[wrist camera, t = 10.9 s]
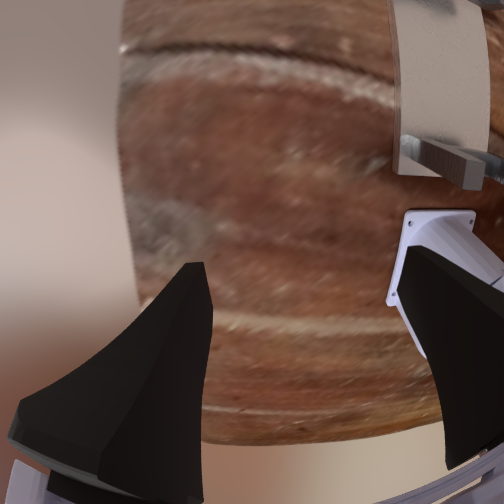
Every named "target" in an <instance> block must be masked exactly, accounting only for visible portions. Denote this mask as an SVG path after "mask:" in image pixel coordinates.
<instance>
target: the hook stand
mask: <svg viewBox="0 0 504 504" xmlns="http://www.w3.org/2000/svg"><path fill="white" fill-rule="evenodd" d="M386 4H387V10H388V17H389V25H390V33H391V43H392V54H393V70H394V145H393V161H392V171H393V172H395V173H396V174H398V175H418V176H435V177H443V178H445V179H447V180H448V181H450V182H452V183H453V184H455V185H456V186H458V187H460V188H461V189H465V190H479V191H481V190H482V184H483V178H484V177H491V178H493V179H494V180H496V181H498V182H499V183H501V184H503V185H504V158H502V157H500V156H498V155H496V154H493V153H490V152H487V148H488V138H489V123H490V74H489V60H488V50H487V42H486V35H485V28H484V22H483V17H482V12H481V8H483V9H484V10H486V11H491V10H501V9H504V0H386ZM480 7H481V8H480Z"/></svg>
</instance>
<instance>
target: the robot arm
mask: <svg viewBox="0 0 504 504" xmlns="http://www.w3.org/2000/svg"><path fill="white" fill-rule="evenodd" d="M475 217H476V213H475V212H474V211H473V210H409V211H407V212H406V214H405V217H404V223H403V229H402V234H401V239H400V244H399V249H398V254H397V258H396V263H395V267H394V271H393V276H392V280H391V284H390V287H389V291H388V295H387V299H386V304H387V305H388V306H395V305H396V306H397V308H398V310H399V312H400V314H401V316H402V318H403V320H404V322H405V324H406V326H407V328H408V330H409V332H410V334H411V336H412V338H413V340H414V342H415V344H416V346H417V348H418V350H419V351H420V353H421V354H422V355H423V356H424V357H425V358H426V359H427V360H428V362H429V365H430V367H431V370H432V374H433V377H434V380H435V384H436V387H437V391H438V396H439V400H440V405H441V410H442V416H443V423H444V431H445V447H446V448H445V450H446V452H445V453H446V454H445V458H446V459H445V462H446V466H447V469H448V470H451V469H453V468H455V467H457V466H459V465H461V464H463V463H464V462H466V461H468V460H470V459H472V458H473V457H475V456H477V455H479V454H480V453H482V452H483V451H485V450H486V451H487V452H488V453H486V454H485V455H483V456H481V457H480V458H478V459H477V460H475V461H473V462H471V463H469V464H468V465H466V466H464V467H462V468H460V469H458V470H456V471H455V472H453V473H451V474H449V475H447V476H445V477H442V478H440V479H438V480H436V481H434V482H432V483H429V484H427V485H425V486H422V487H420V488H417V489H415V490H412V491H410V492H407V493H405V494H402V495H399V496H396V497H393V498H390V499H387V500H384V501H381V502H377V503H374V504H431V503H433V502H435V501H437V500H439V499H441V498H443V497H445V496H447V495H449V494H451V493H453V492H455V491H457V490H458V489H460V488H462V487H464V486H466V485H467V484H469V483H471V482H472V481H474V480H476V479H477V478H479V477H481V476H482V475H483V476H482V479H481V481H480V482H479V483H478V484H476V485H474V486H472V487H470V488H468V489H466V490H463V491H461V492H460V493H458V494H456V495H454V496H452V497H450V498H449V499H447V500H445V501H444V502H442V503H441V504H504V263H503V262H502V261H501V260H500V259H499V258H498V257H497V256H496V255H495V254H494V253H493V252H492V251H491V250H490V249H489V248H488V247H487V246H486V245H485V244H484V243H483V242H482V241H481V240H480V239H479V238H478V237H476V236H475V235H474V234H473V233H472V229H473V225H474V221H475ZM409 221H411V223H410V224H408V223H409ZM393 292H394V293H393ZM392 293H393V294H392ZM212 325H213V304H212V300H211V296H210V291H209V286H208V282H207V277H206V272H205V267H204V263H203V262H193V263H185V264H184V265H183V266H182V268H181V269H180V270H179V271H178V272H177V273H176V275H175V276H174V277H173V278H172V279H171V281H170V282H169V283H168V284H167V285H166V286H165V288H164V289H163V290H162V291H161V292H160V293H159V295H158V296H157V297H156V298H155V299H154V300H153V301H152V303H151V304H150V305H149V306H148V307H147V308H146V309H145V310H144V311H143V312H142V313H141V314H140V315H139V316H138V317H137V318H136V319H135V321H133V322H132V323H131V325H130V326H128V327H127V328H126V329H125V330H124V331H123V332H122V333H121V334H120V335H119V336H117V337H116V338H115V339H114V340H113V341H112V342H111V343H110V344H108V345H107V346H106V347H105V348H103V349H102V350H101V351H99V352H98V353H97V354H96V355H94V356H93V357H92V358H91V359H89V360H88V361H86V362H85V363H84V364H82V365H81V366H80V367H78V368H77V369H75V370H74V371H72V372H71V373H69V374H68V375H66V376H64V377H63V378H61V379H59V380H58V381H56V382H55V383H53V384H51V385H50V386H47V387H45V388H44V389H42V390H40V391H38V392H36V393H34V394H32V395H30V396H28V397H26V398H24V399H22V400H21V401H20V403H19V405H18V408H17V410H16V413H15V416H14V418H13V421H12V424H11V427H10V429H9V433H8V436H7V440H8V442H9V443H10V444H11V445H13V446H14V447H15V448H17V449H18V450H19V451H21V452H22V453H24V454H26V455H27V456H29V457H30V458H32V459H33V460H35V461H37V462H38V463H40V464H42V465H44V466H45V467H47V468H49V469H51V472H50V476H47V475H45V474H43V473H41V472H39V471H37V470H36V469H34V468H32V467H30V466H28V465H26V464H25V463H23V462H21V461H19V460H15V462H14V465H13V469H12V473H11V477H10V481H9V486H8V490H7V495H6V501H5V504H202V503H203V502H204V498H203V486H202V470H201V409H202V394H203V386H204V379H205V373H206V367H207V361H208V355H209V349H210V343H211V337H212Z"/></svg>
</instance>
